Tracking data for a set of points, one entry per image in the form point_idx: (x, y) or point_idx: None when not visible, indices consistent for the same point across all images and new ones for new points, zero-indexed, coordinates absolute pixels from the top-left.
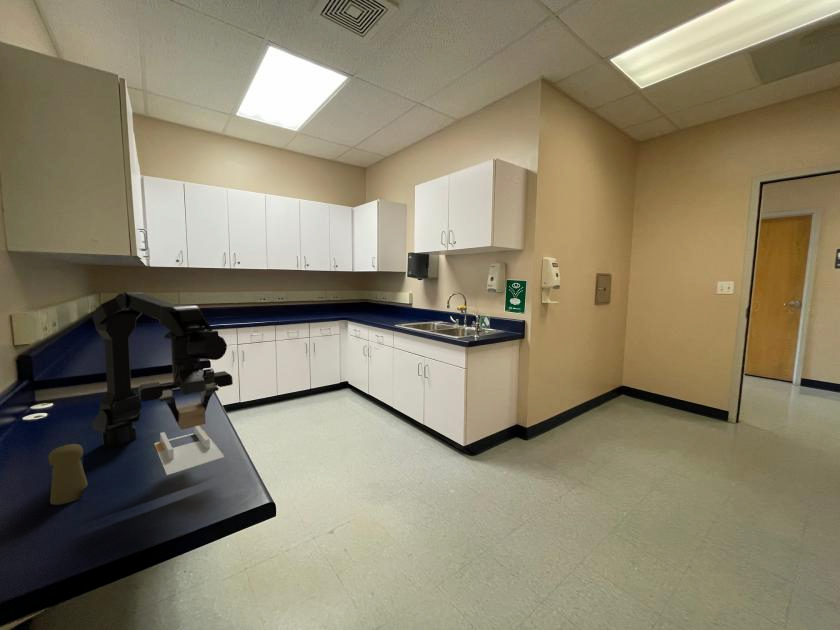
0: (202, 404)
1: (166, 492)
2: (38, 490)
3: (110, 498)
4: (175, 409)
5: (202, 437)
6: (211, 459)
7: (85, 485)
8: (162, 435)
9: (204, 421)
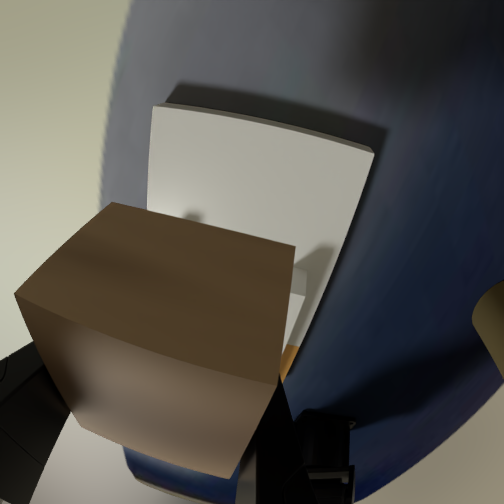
0: (47, 381)
1: (407, 68)
2: (489, 370)
3: (495, 208)
4: (268, 466)
5: None
6: (198, 127)
7: (498, 305)
8: None
9: (105, 214)
